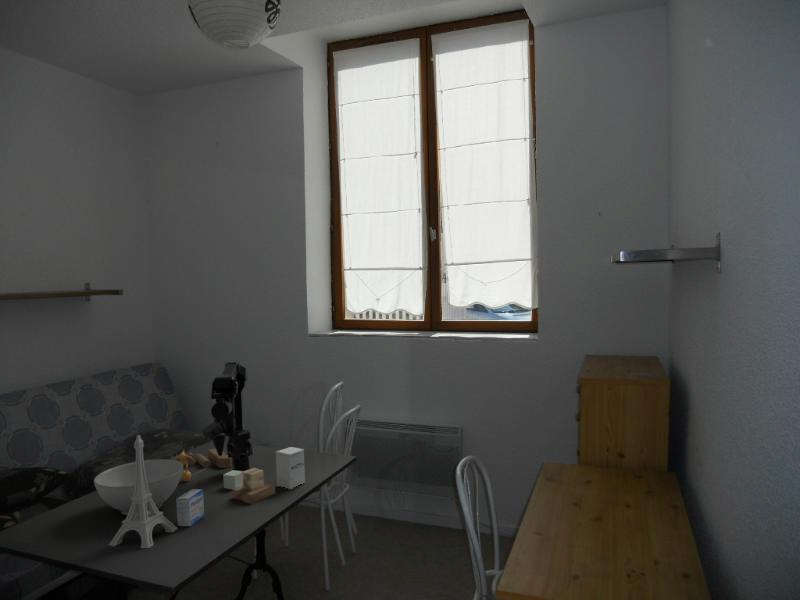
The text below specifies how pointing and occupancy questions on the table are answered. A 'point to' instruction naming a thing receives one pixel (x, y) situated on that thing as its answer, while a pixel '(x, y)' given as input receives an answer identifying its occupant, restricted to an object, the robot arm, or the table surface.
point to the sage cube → (233, 479)
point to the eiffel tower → (142, 507)
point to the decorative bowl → (121, 483)
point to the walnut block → (253, 493)
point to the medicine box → (190, 507)
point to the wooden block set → (209, 459)
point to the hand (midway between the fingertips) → (228, 457)
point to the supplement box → (290, 467)
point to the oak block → (253, 479)
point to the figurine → (186, 474)
